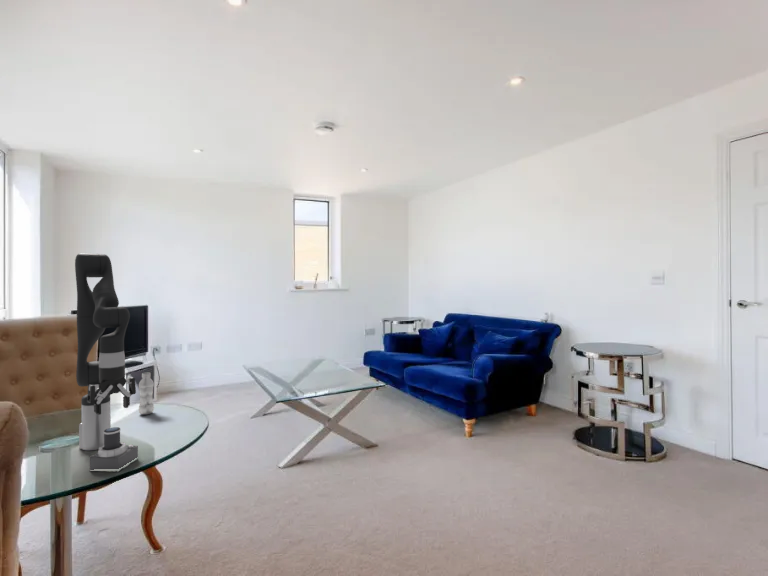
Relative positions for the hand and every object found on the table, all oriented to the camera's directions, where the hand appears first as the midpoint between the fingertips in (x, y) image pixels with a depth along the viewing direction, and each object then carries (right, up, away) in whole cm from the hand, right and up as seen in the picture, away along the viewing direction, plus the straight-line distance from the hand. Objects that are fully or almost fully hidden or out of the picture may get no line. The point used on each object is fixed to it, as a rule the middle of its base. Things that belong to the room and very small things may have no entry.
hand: (112, 410), depth 140 cm
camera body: (0, -20, +1) cm, 20 cm away
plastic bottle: (-21, -19, +56) cm, 63 cm away
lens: (0, -15, 0) cm, 15 cm away
